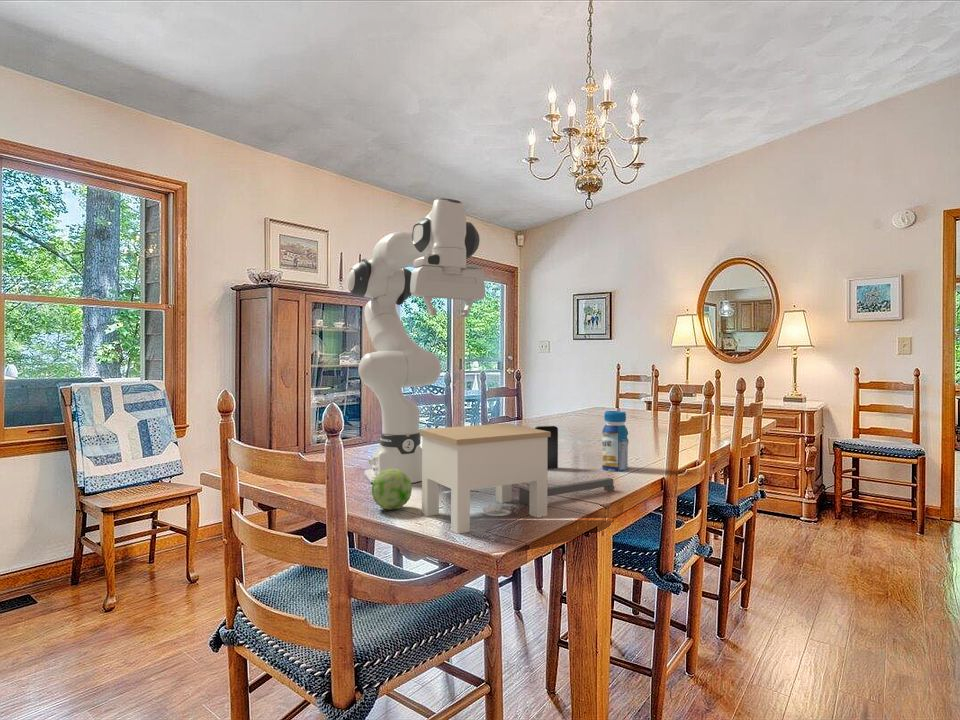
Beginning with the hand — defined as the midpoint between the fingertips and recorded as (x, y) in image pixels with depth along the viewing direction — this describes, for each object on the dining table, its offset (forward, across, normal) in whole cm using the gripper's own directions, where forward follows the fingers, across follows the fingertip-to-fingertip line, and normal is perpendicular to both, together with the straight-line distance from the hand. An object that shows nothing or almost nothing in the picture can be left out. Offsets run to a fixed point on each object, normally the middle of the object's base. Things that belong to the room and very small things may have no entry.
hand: (448, 316), depth 142 cm
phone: (+48, -46, -18) cm, 69 cm away
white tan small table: (+48, -3, +13) cm, 50 cm away
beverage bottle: (+48, -64, -5) cm, 80 cm away
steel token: (+48, -6, +13) cm, 51 cm away
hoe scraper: (+48, -31, +13) cm, 59 cm away
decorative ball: (+48, +14, -3) cm, 50 cm away
